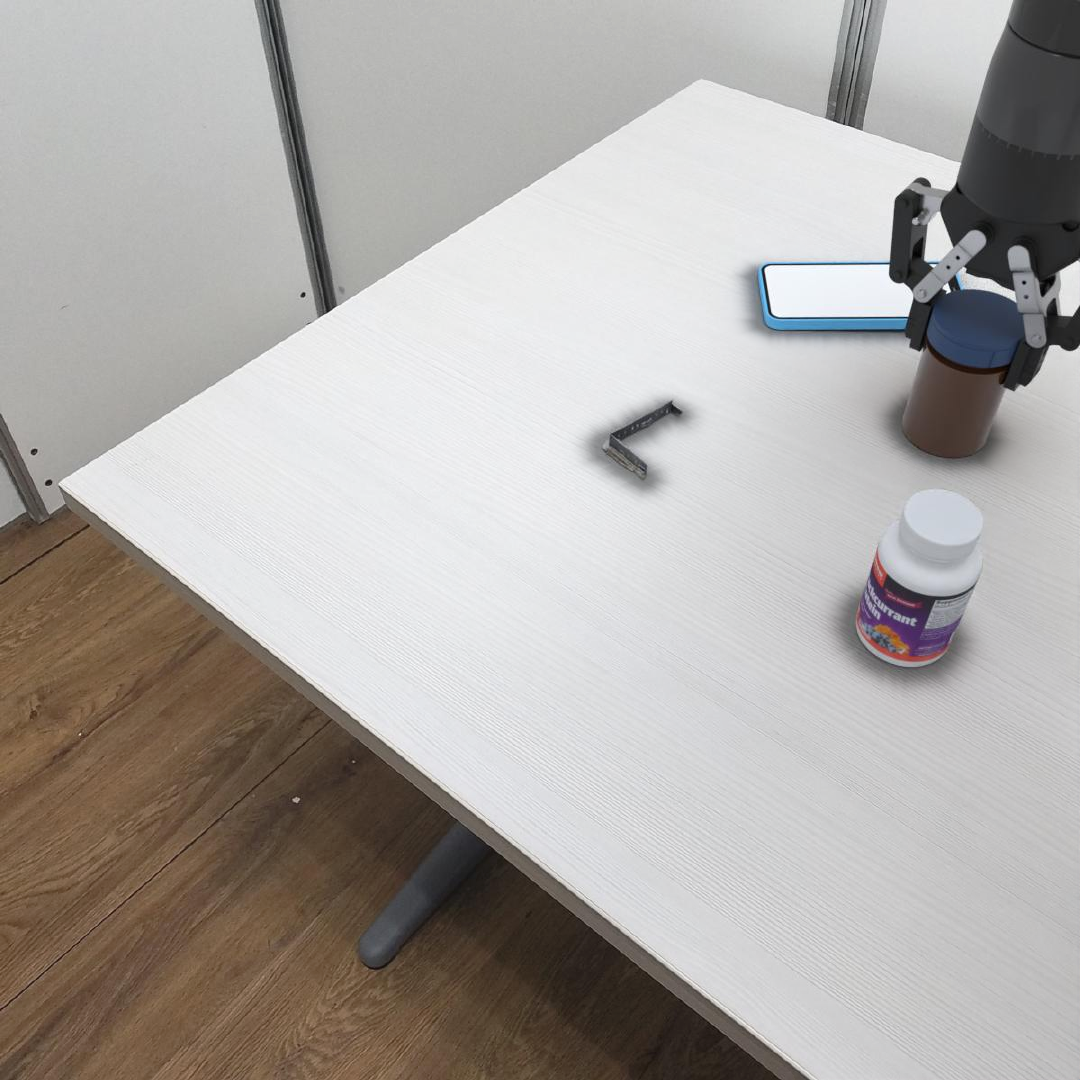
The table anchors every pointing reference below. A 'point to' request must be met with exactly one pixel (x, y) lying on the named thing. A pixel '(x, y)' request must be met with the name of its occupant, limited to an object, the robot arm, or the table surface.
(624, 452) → the bent metal strip
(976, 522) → the pill bottle
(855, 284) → the smartphone
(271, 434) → the table surface
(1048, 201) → the robot arm
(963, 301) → the jar lid
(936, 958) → the table surface
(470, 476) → the table surface
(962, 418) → the jar
